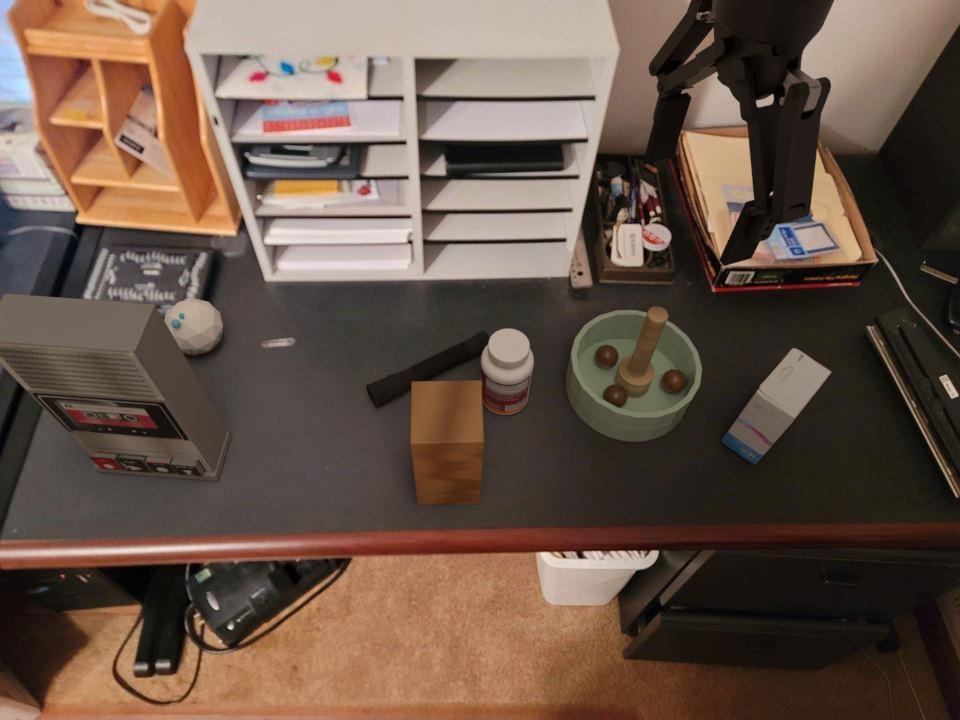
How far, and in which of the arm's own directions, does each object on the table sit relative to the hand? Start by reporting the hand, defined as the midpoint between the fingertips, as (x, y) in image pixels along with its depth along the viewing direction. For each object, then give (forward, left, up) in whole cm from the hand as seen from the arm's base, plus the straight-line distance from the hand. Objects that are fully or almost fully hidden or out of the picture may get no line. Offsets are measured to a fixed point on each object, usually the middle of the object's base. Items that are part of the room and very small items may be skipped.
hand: (694, 206), depth 63 cm
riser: (-4, +25, -31) cm, 40 cm away
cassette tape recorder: (+9, +55, -31) cm, 64 cm away
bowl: (0, 0, -31) cm, 31 cm away
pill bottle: (+4, +15, -31) cm, 35 cm away
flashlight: (+10, +23, -31) cm, 40 cm away
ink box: (-11, -12, -31) cm, 35 cm away
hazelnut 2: (-2, +3, -28) cm, 29 cm away
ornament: (+24, +49, -31) cm, 63 cm away
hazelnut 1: (+4, +1, -28) cm, 29 cm away
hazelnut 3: (-2, -5, -28) cm, 29 cm away
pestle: (0, -1, -30) cm, 30 cm away
